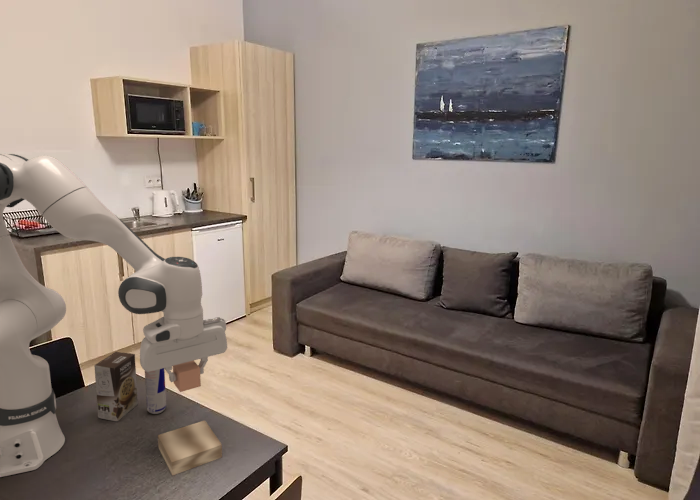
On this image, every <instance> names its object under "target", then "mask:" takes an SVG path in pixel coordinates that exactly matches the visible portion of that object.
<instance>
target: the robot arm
mask: <svg viewBox="0 0 700 500" xmlns="http://www.w3.org/2000/svg"><path fill="white" fill-rule="evenodd" d="M23 201H27V202H28V203H29V204H31V205H32V206H33V207H34V208H35V209H36V211H38V213H39V214H40V216H41V217H42V218H43V219H44V220H45V221H46V222H47V223H48V224H49V225H50V226H51V227H52V228H53V229H54V230H55V231H56V232H58V233H59V234H60V235H62V236H63V237H65V238H67V239H71V240H75V241H77V240H78V241H91V242H97V243H101V244H103V245H106V246H108V247H110V248H111V249H113V250H114V251H115V252H116V253H117V254H118V255H119V256H120V257H121V258H122V259H123V260H124V261H125V262H126V263H127V264H128V265H129V266H131V268H133V270H134V272H133V273H132V274H130V275H129V276H128V277H126V278H125V279H123V281H122V282H121V283H120V284H119V286H118V290H117V294H118V295H117V296H118V299H119V302H120V304H121V305H122V307H124V309H125V310H127V311H128V312H130V313H132V314H135V315H145V314H146V315H148V314H155V313H160V312H162V313H163V316H161V317H160V318H158V319H156V320H154V321H153V322H150V323H148V324H146V325H145V326H144V327H143V328H142V331H143V335H144V337H143V338H142V340H141V343H140V348H139V364H140V366H141V368H142V370H144V372H145V371H146V372H150V371H154V370H158V369H162V368H164V371H165V372H166V373H167V374H168V379H169V381H170V383H174V381H177V380H178V379H177V374H176V372H173V366H174V365H178V364H182V363H186V362H190V361H197V360H200V361H199V363H198V364H197V365H198V366H199V367H200V375H203V374H204V371H205V369H204V368H205V366H206V365H207V363H208V361H209V357H213V356H217V355H221V354H224V353H226V351H227V349H228V341H227V335H226V334H227V333H226V330H227V322H226V320H225V319H224V318H222V317H214V318H208V319H204V309H203V306H202V298H203V285H202V284H203V283H202V275H201V271H200V267H199V265H198V263H197V262H196V261H194V260H192V259H190V258H189V257H184V256H170V257H167V258H164V257H162V256H160V255H159V254H158V253H156V252H155V251H154V250H153V249H152V248H151V247H150V246H149V245H148V244H147V243H146V242H145V241H144V240H142V238H141V237H140V236H139V235H138V234H137V233H136V232H135V231H134V230H132V228H131V227H130V226H129V225H127V223H125V222H124V221H123V220H122V219H121V218H120V217H118V216H117V214H114V213H113V212H112V210H110V209H109V208H107V206H105V204H103V202H101V200H100V199H99V198H98V197H97V196H96V195H95V194H94V193H93V192H92V191H91V190H90V189H89V187H88V186H87V185H86V184H85V183H84V182H83V181H82V179H80V178H79V177H78V175H77V174H75V173H74V172H73V171H72V170H71V169H70V168H68V167H67V166H66V165H65V164H64V163H63V162H61V161H60V160H59V159H57V158H55V157H54V156H50V155H38V156H35V157H32V158H30V159H28V158H26V157H25V156H22V155H18V154H15V153H2V152H0V478H2V477H8V476H11V475H16V474H21V473H26V472H30V471H35V470H37V469H39V468H40V467H41V466H42V465H43V464H44V463H45V461H46V460H47V459H49V458H50V457H51V456H52V457H53V455H55V454H56V453H57V452H59V450H61V448H62V447H63V446H64V444H65V441H66V438H65V435H64V433H63V432H62V429H61V427H60V425H59V422H58V419H57V414H56V411H57V410H56V409H57V402H56V394H55V391H54V389H53V388H52V383H51V382H52V381H51V371H50V364H49V363H48V361H47V360H46V359H44V358H43V357H41V356H39V355H35V354H32V352H31V350H30V343H31V341H33V340H35V339H36V338H39V337H40V336H42V335H44V334H46V333H47V332H49V331H51V330H52V329H53V328H55V326H56V325H58V324H59V323H60V322H61V321H62V320H63V319H64V317H65V316H66V314H67V304H66V301H65V299H64V297H63V296H62V295H61V294H60V293H59V292H58V291H56V290H54V289H53V288H48V287H46V286H45V285H43V284H42V283H40V282H39V281H38V280H36V278H34V277H33V276H32V274H31V273H30V272H29V271H28V269H27V268H26V266H25V265H24V263H23V262H22V259H21V256H20V254H19V253H18V250H17V248H16V246H15V244H14V242H13V240H12V237H11V235H10V232H9V229H8V227H7V225H6V224H5V220H4V211H5V209H6V208H14V207H15V206H17V205H18V204H20V203H22V202H23Z"/></svg>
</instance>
